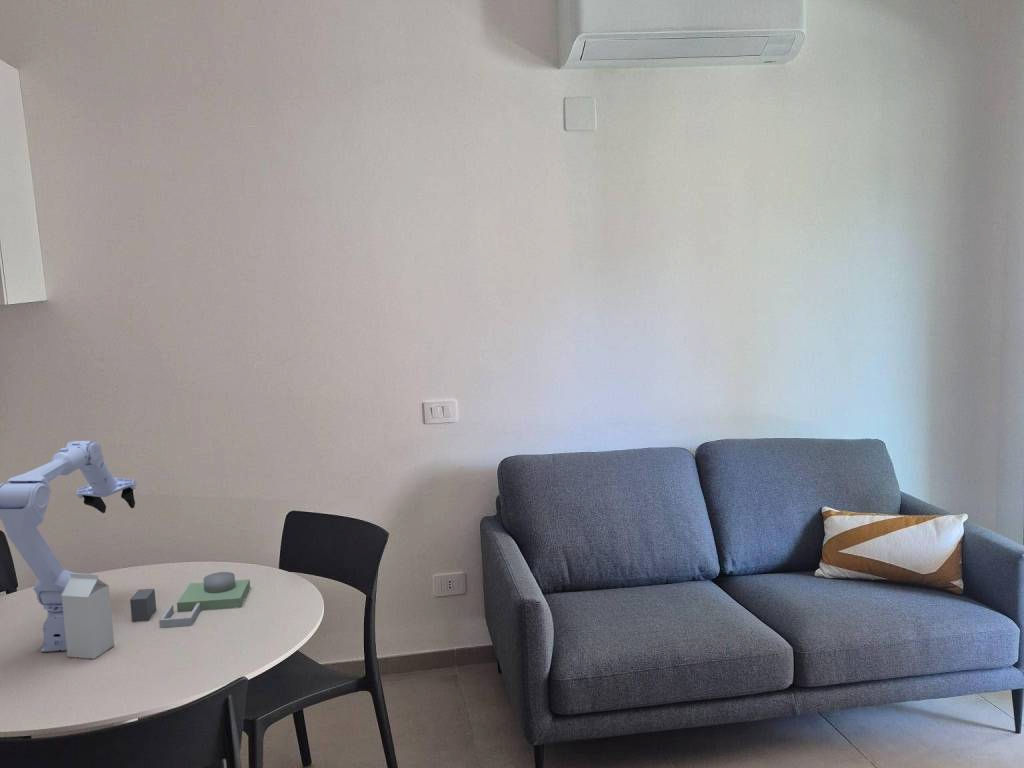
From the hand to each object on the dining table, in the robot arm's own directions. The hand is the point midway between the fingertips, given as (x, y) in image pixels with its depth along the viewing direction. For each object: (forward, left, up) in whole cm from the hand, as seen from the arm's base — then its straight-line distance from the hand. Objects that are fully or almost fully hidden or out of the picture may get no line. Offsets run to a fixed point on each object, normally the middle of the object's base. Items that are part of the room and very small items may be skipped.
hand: (118, 507), depth 228 cm
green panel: (-11, -24, -25) cm, 36 cm away
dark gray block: (-14, -9, -26) cm, 30 cm away
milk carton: (-34, -2, -26) cm, 43 cm away
